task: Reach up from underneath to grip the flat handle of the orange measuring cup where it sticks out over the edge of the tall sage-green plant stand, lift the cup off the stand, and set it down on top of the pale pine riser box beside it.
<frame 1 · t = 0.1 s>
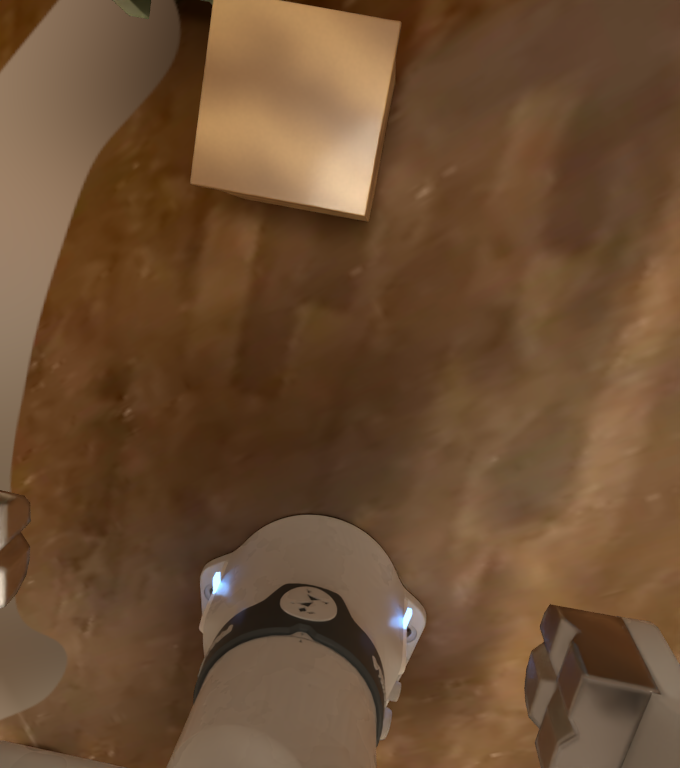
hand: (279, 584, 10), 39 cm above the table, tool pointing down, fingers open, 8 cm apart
riser box: (315, 141, 45), on the table
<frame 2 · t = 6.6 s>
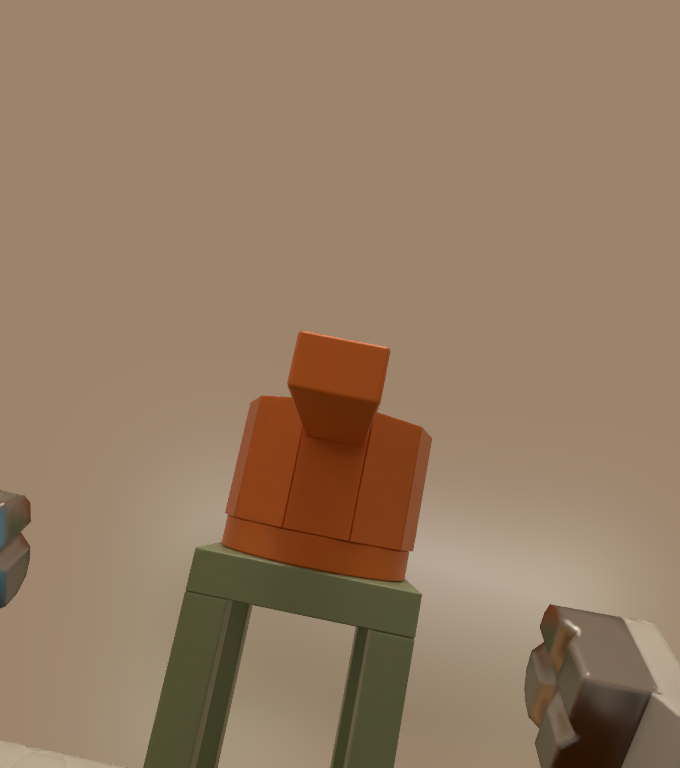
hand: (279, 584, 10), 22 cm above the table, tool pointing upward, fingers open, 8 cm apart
measuring cup: (312, 561, 26), point 21 cm above the table, touching plant stand
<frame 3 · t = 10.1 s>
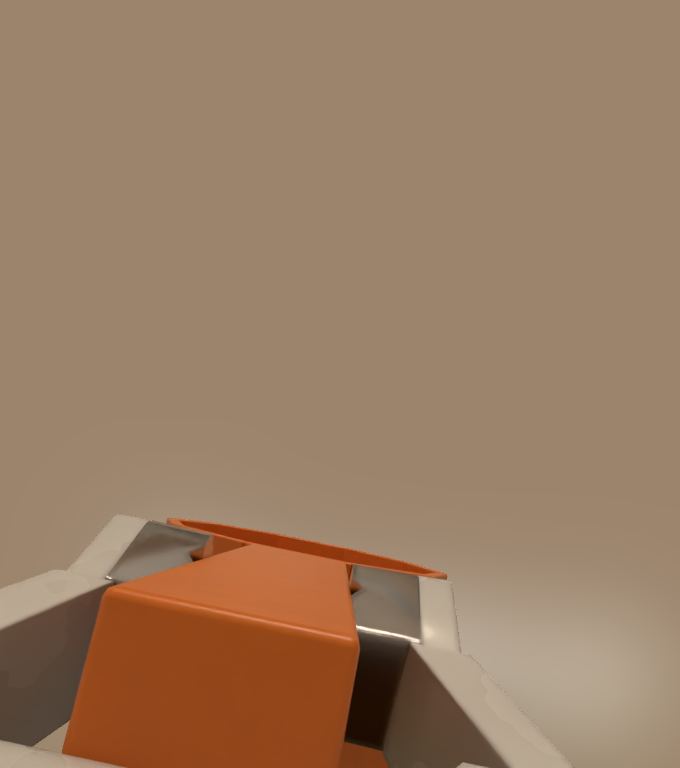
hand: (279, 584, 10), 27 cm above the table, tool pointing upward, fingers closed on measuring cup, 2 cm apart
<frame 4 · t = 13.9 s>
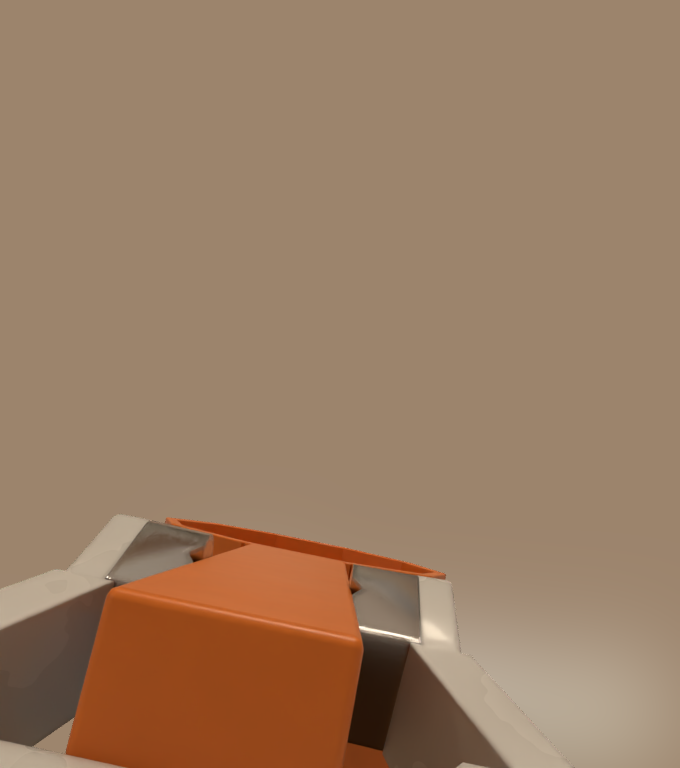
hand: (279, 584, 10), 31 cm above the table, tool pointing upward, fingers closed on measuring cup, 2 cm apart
when the fingers open (18 cm above the table, at t = 18.1 s): measuring cup stays where it is, resting on riser box.
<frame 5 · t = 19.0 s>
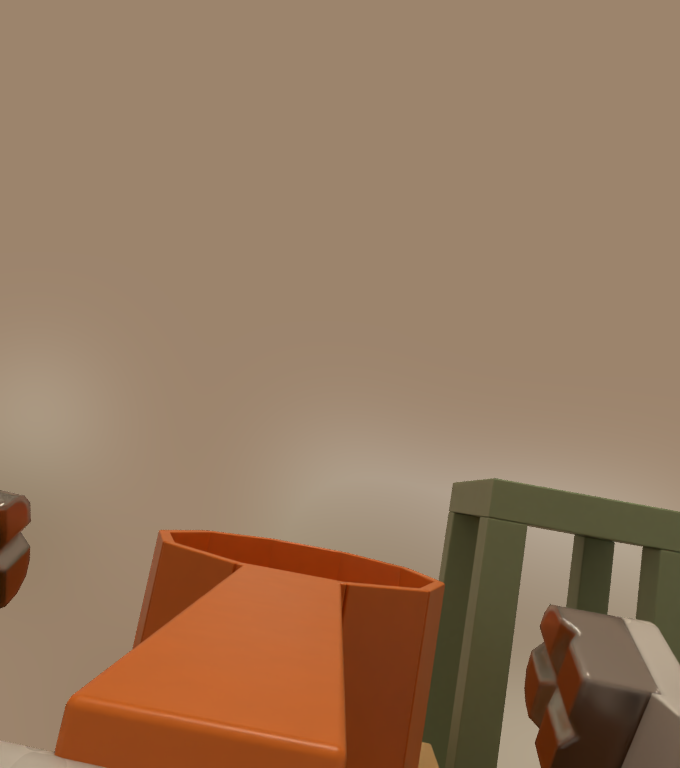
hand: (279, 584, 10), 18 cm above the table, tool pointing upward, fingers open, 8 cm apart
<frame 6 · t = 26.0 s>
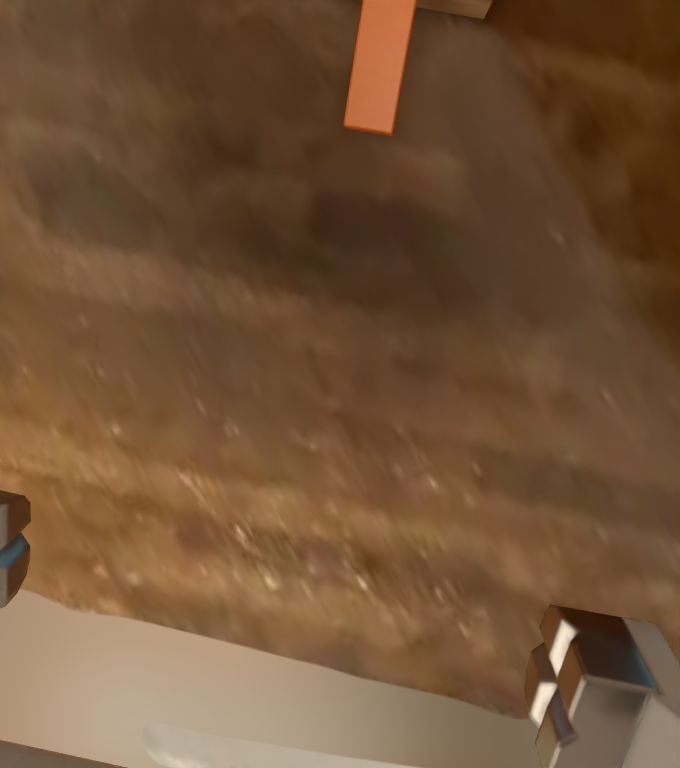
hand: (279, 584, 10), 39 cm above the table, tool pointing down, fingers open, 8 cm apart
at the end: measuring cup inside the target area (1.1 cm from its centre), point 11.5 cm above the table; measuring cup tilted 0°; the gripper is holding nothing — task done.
